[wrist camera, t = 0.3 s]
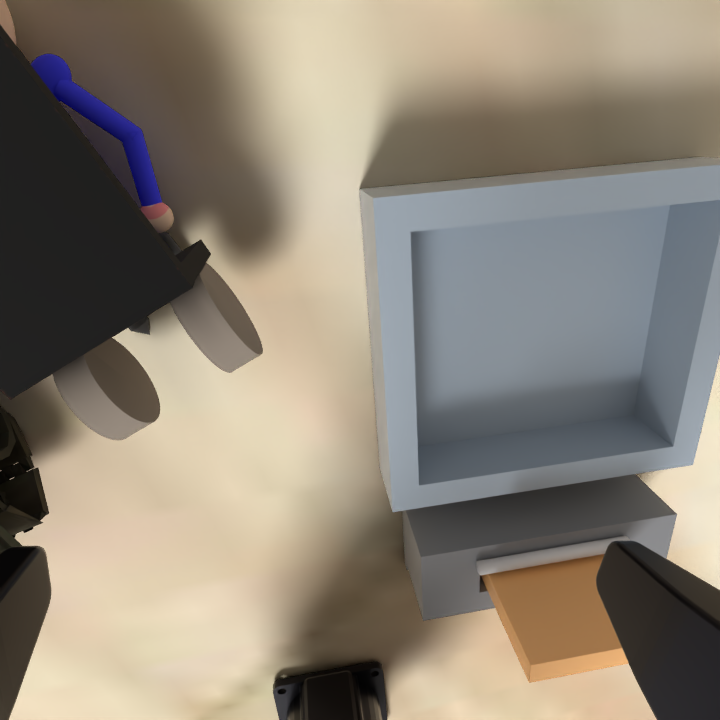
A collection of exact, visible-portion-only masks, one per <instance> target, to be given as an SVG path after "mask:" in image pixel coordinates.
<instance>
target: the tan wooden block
mask: <svg viewBox="0 0 720 720" xmlns="http://www.w3.org/2000/svg"><path fill="white" fill-rule="evenodd" d="M603 557H604V554H601V555H596V556H590V557H584V558H578V559H572V560H567V561H561V562H555V563H549V564H544V565H538V566H532V567H526V568H520V569H515V570H509V571H503V572H497V573H492V574H486V575H481V577H482V579H483V582H484V584H485V586H486V588H487V590H488V593H489V595H490V597H491V599H492V602H493V604H494V606H495V608H496V610H497V613H498V615H499V617H500V619H501V621H502V624H503V626H504V628H505V630H506V633H507V635H508V637H509V639H510V641H511V644H512V646H513V648H514V650H515V652H516V655H517V657H518V659H519V661H520V664H521V666H522V668H523V670H524V672H525V675H526V677H527V679H528V681H529V683H531V682H536V681H541V680H546V679H551V678H556V677H562V676H567V675H572V674H577V673H582V672H587V671H592V670H597V669H602V668H607V667H613V666H618V665H623V664H628V660H627V658H626V656H625V653H624V651H623V649H622V646H621V644H620V642H619V639H618V637H617V635H616V632H615V630H614V628H613V626H612V623H611V621H610V619H609V616H608V614H607V612H606V609H605V607H604V605H603V602H602V600H601V598H600V595H599V593H598V590H597V586H596V576H597V573H598V570H599V567H600V565H601V562H602V560H603Z"/></svg>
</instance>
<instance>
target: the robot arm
mask: <svg viewBox="0 0 720 720" xmlns="http://www.w3.org/2000/svg"><path fill="white" fill-rule="evenodd" d="M596 586H597V590H598V593H599V595H600V598H601V600H602V602H603V605H604V607H605V609H606V612H607V614H608V616H609V619H610V621H611V623H612V626H613V628H614V630H615V632H616V635H617V637H618V639H619V642H620V644H621V646H622V649H623V651H624V653H625V656H626V658H627V660H628V663H629V665H630V667H631V669H632V672H633V674H634V676H635V678H636V680H637V682H638V684H639V686H640V688H641V690H642V692H643V694H644V696H645V698H646V700H647V702H648V704H649V706H650V707H651V709H652V711H653V713H654V715H655V717H656V719H657V720H720V590H718V589H717V588H715V587H713V586H712V585H710V584H708V583H707V582H705V581H703V580H701V579H700V578H698V577H696V576H695V575H693V574H691V573H690V572H688V571H686V570H684V569H683V568H681V567H679V566H678V565H676V564H674V563H673V562H671V561H669V560H667V559H666V558H664V557H662V556H661V555H659V554H657V553H656V552H654V551H652V550H650V549H649V548H647V547H645V546H644V545H642V544H640V543H638V542H636V541H613V542H611V543H610V544H609V545H608V547H607V549H606V552H605V554H604V557H603V560H602V562H601V565H600V567H599V570H598V573H597V576H596ZM50 599H51V583H50V577H49V570H48V563H47V557H46V552H45V550H44V549H43V548H42V547H40V546H14V547H10V548H8V549H6V550H4V551H3V552H1V553H0V720H9V718H10V715H11V712H12V710H13V707H14V704H15V702H16V699H17V696H18V693H19V690H20V687H21V685H22V682H23V679H24V676H25V673H26V670H27V667H28V664H29V662H30V659H31V656H32V653H33V650H34V647H35V644H36V642H37V639H38V636H39V633H40V630H41V627H42V624H43V622H44V619H45V616H46V613H47V610H48V607H49V604H50ZM273 694H274V699H275V703H276V707H277V711H278V716H279V720H387V711H386V699H385V688H384V676H383V669H382V665H381V663H379V662H370V663H365V664H359V665H354V666H349V667H343V668H338V669H333V670H327V671H322V672H316V673H311V674H306V675H300V676H295V677H290V678H284V679H280V680H277V681H276V682H275V683H274V684H273Z"/></svg>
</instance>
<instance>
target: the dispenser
mask: <svg viewBox="0 0 720 720" xmlns="http://www.w3.org/2000/svg"><path fill="white" fill-rule="evenodd" d="M676 516H677V514H676V513H675V512H674V511H673V510H672V509H671V508H670V507H669V506H668V505H667V504H666V503H665V502H664V501H663V500H662V499H661V498H659V497H658V496H657V495H656V494H655V493H654V492H653V491H652V490H651V489H650V488H649V487H648V486H647V485H646V484H645V483H644V482H643V481H642V480H641V479H640V478H639V477H638V476H636V475H635V474H632V475H625V476H619V477H613V478H606V479H600V480H594V481H587V482H581V483H575V484H568V485H562V486H556V487H549V488H543V489H537V490H530V491H524V492H518V493H511V494H505V495H499V496H492V497H486V498H480V499H473V500H467V501H461V502H454V503H448V504H442V505H435V506H429V507H423V508H416V509H410V510H404V511H402V519H403V539H404V558H405V566H406V569H407V570H409V574H410V577H411V581H412V584H413V588H414V591H415V594H416V598H417V601H418V605H419V608H420V612H421V615H422V619H423V621H425V620H430V619H436V618H442V617H447V616H453V615H458V614H464V613H469V612H475V611H480V610H486V609H492V608H495V606H494V604H493V602H492V599H491V597H490V595H489V593H488V590H487V588H486V586H485V584H484V582H483V579H482V577H481V575H486V574H492V573H497V572H503V571H509V570H515V569H520V568H526V567H532V566H538V565H544V564H549V563H555V562H561V561H567V560H572V559H578V558H584V557H590V556H596V555H601V554H605V552H606V549H607V547H608V545H609V544H610V543H611V542H613V541H636V542H638V543H640V544H642V545H644V546H645V547H647V548H649V549H650V550H652V551H654V552H656V553H657V554H659V555H661V556H662V557H664V558H667V554H668V550H669V545H670V541H671V537H672V533H673V529H674V524H675V520H676Z"/></svg>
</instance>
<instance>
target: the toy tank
mask: <svg viewBox="0 0 720 720" xmlns="http://www.w3.org/2000/svg"><path fill="white" fill-rule="evenodd" d="M30 456H32V453H31V451H30V449H29V447H28V445H27V443H26V441H25V439H24V437H23V435H22V433H21V431H20V428H19V426H18V424H17V422H16V420H15V419H14V417H13V416H12V415H11V414H10V413H6V412H5V410H4V409H3V408H2V407H1V406H0V470H2V471H0V553H1V552H3V551H4V550H6V549H8V548H10V547H14V546H22V545H21V544H20V543H19V542H18V541H17V540H16V539H15V535H16V533H19V532H21V531H23V532H24V533H25V532H28V531H30V530H32V529H33V527H34V526H36V525H39V524H41V523H43V522H41V521H40V520H41V519H42V518H43V517H44V516H45V515H47V514H49V511H48V506H47V502H46V498H45V494H44V490H43V486H42V482H41V478H40V474H39V469H38V468H35V469H32V468H34V465H33V462H32V460H31V457H30ZM17 462H19V463H17ZM15 463H17V464H15ZM13 464H15V465H13ZM30 469H32V470H30ZM28 470H30V471H28ZM26 471H28V472H26ZM13 477H15V478H13ZM11 478H13V479H11ZM9 479H11V480H9Z"/></svg>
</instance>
